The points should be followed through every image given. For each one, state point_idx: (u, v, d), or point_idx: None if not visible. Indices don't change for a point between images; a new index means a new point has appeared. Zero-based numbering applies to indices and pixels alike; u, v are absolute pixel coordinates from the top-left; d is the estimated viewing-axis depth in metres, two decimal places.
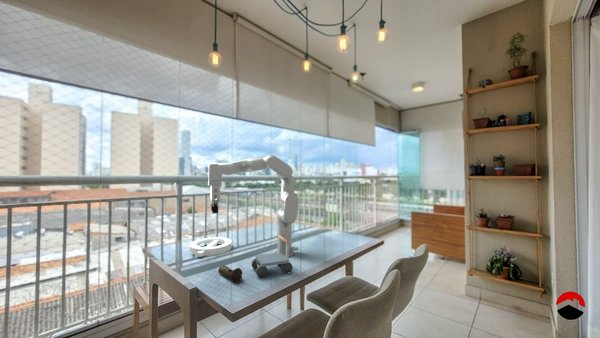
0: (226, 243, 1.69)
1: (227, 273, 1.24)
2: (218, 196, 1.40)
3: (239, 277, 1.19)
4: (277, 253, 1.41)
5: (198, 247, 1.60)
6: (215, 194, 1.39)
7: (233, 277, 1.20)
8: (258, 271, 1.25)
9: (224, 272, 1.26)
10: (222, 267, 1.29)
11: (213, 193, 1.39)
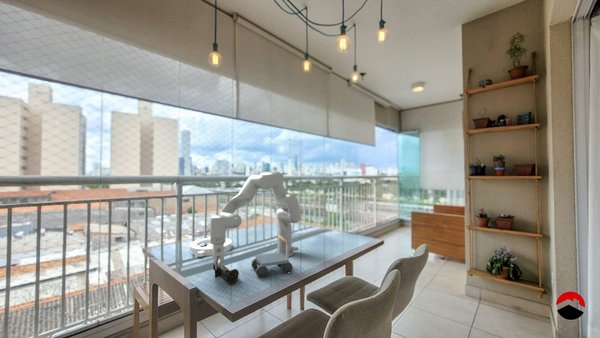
0: (226, 243, 1.69)
1: (224, 274, 1.23)
2: (222, 257, 1.19)
3: (234, 278, 1.18)
4: (277, 253, 1.41)
5: (198, 247, 1.60)
6: (218, 254, 1.18)
7: (229, 278, 1.19)
8: (258, 271, 1.25)
9: (222, 272, 1.25)
10: None
11: (216, 253, 1.18)
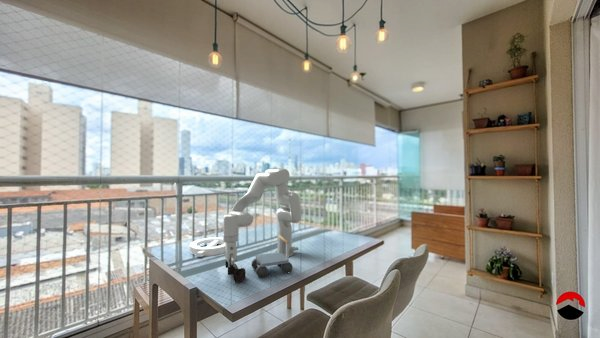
0: None
1: None
2: (234, 254, 1.21)
3: (239, 277, 1.19)
4: (277, 253, 1.41)
5: (198, 247, 1.60)
6: (231, 252, 1.21)
7: (234, 276, 1.20)
8: (258, 271, 1.25)
9: None
10: None
11: (229, 251, 1.20)
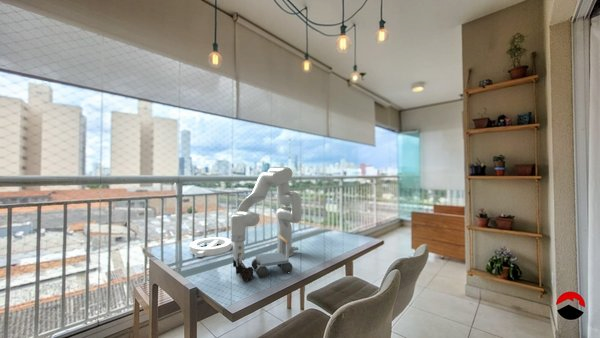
0: (226, 243, 1.69)
1: None
2: (242, 254, 1.23)
3: (248, 276, 1.21)
4: (277, 253, 1.41)
5: (198, 247, 1.60)
6: (239, 252, 1.22)
7: (243, 275, 1.22)
8: (258, 271, 1.25)
9: None
10: None
11: (237, 251, 1.22)
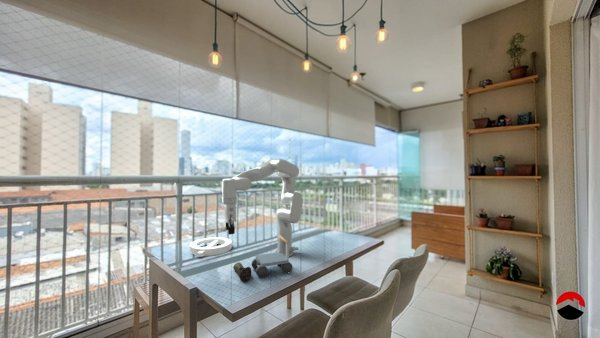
0: (226, 243, 1.69)
1: (238, 271, 1.27)
2: (234, 215, 1.28)
3: (246, 276, 1.20)
4: (277, 253, 1.41)
5: (198, 247, 1.60)
6: (231, 213, 1.27)
7: (241, 275, 1.22)
8: (258, 271, 1.25)
9: (236, 269, 1.29)
10: (236, 264, 1.33)
11: (229, 212, 1.27)
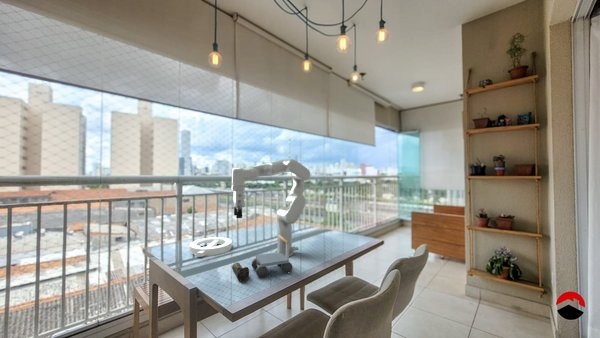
0: (226, 243, 1.69)
1: (236, 271, 1.27)
2: (242, 201, 1.41)
3: (243, 276, 1.20)
4: (277, 253, 1.41)
5: (198, 247, 1.60)
6: (239, 199, 1.40)
7: (238, 275, 1.21)
8: (258, 271, 1.25)
9: (234, 269, 1.29)
10: (235, 264, 1.33)
11: (237, 198, 1.40)
